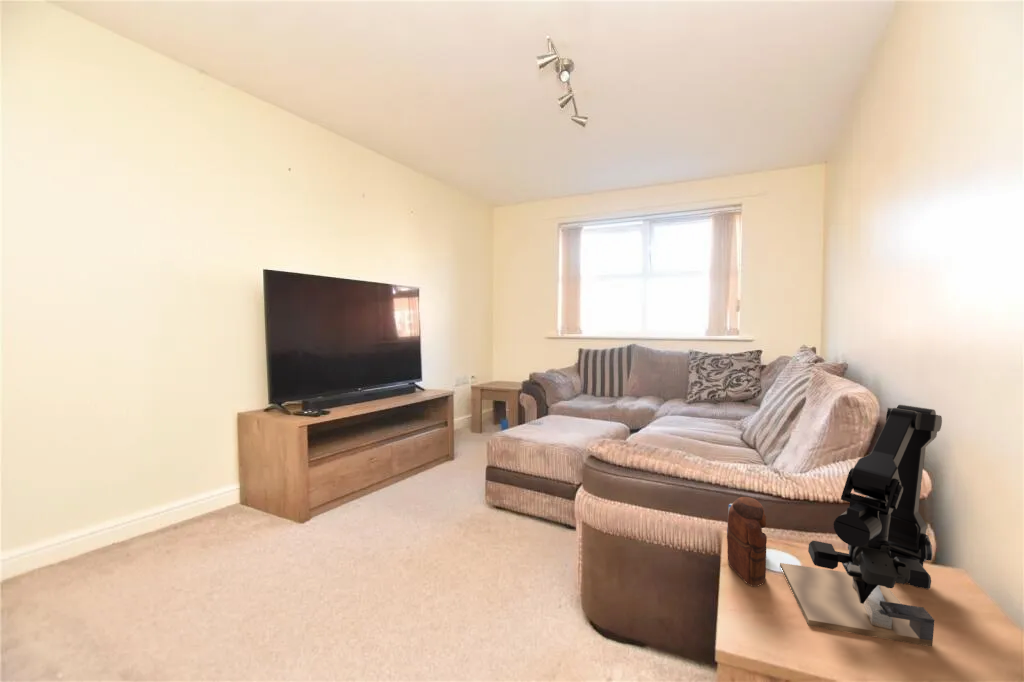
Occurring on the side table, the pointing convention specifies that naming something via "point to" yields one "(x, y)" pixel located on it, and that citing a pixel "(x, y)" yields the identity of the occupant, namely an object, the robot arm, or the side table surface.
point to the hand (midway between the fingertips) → (861, 602)
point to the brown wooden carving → (747, 540)
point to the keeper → (912, 618)
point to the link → (876, 609)
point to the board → (841, 604)
